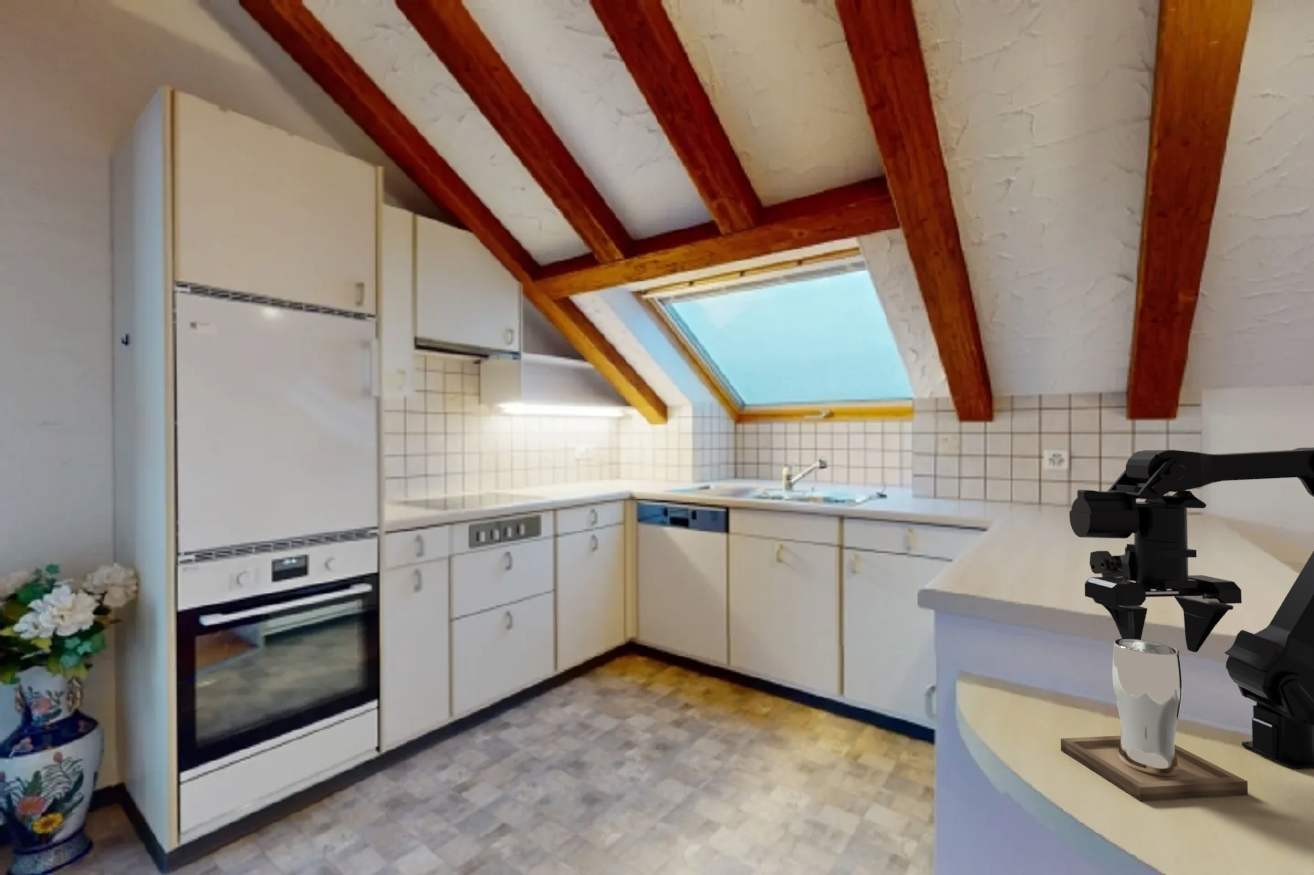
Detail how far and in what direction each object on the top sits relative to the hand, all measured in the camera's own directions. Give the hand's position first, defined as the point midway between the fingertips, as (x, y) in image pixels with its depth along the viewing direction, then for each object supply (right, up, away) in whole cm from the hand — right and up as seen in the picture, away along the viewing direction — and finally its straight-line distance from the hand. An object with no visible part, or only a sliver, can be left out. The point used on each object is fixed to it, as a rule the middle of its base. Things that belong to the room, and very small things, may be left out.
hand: (1162, 652), depth 83 cm
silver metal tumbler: (-7, -12, -6) cm, 16 cm away
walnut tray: (-7, -13, -7) cm, 16 cm away
